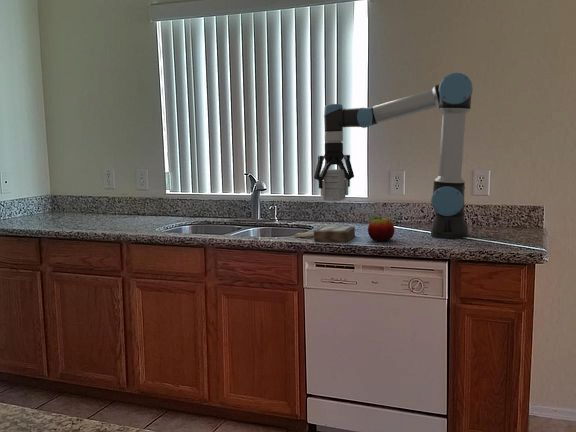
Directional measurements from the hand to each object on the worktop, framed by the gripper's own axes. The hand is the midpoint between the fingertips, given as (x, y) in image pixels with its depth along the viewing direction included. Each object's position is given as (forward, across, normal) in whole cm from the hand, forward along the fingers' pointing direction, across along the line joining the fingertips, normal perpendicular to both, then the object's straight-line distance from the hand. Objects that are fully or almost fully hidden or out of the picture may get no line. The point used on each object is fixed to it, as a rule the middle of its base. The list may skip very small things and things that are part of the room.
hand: (334, 195), depth 231 cm
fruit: (+18, -14, +14) cm, 27 cm away
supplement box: (+2, 0, 0) cm, 2 cm away
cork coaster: (+18, +9, -11) cm, 23 cm away
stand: (+18, 0, +1) cm, 18 cm away
